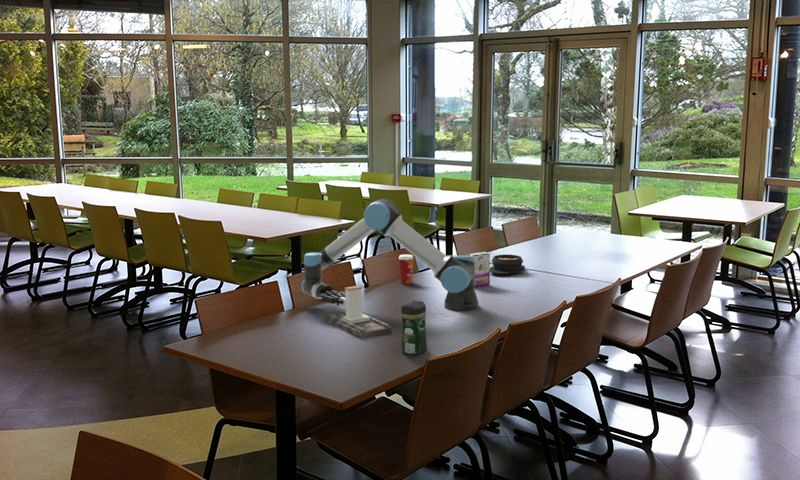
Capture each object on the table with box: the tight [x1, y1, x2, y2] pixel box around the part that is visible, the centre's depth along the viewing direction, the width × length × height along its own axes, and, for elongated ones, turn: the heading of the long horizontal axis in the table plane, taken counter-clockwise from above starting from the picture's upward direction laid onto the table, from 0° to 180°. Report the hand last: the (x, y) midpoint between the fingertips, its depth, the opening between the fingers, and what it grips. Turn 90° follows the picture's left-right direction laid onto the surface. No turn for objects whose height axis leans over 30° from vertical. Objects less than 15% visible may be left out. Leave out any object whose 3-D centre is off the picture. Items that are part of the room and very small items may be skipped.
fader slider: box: [343, 285, 371, 324], centre depth 319 cm, size 7×9×14 cm
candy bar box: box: [465, 251, 491, 288], centre depth 386 cm, size 11×5×16 cm, turn 118°
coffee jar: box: [400, 300, 428, 355], centre depth 285 cm, size 10×8×19 cm
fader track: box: [325, 312, 393, 339], centre depth 319 cm, size 30×14×3 cm, turn 32°
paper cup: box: [398, 254, 414, 285], centre depth 395 cm, size 8×8×14 cm
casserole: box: [490, 254, 526, 275], centre depth 417 cm, size 25×19×8 cm
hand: (348, 303), depth 321 cm, fingers closed
